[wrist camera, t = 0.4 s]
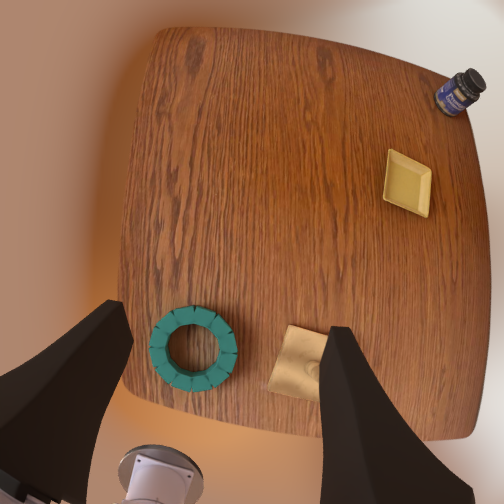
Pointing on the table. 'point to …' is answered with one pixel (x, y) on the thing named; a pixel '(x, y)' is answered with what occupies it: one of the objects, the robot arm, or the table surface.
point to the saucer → (407, 183)
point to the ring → (184, 377)
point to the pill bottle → (459, 92)
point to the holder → (298, 364)
